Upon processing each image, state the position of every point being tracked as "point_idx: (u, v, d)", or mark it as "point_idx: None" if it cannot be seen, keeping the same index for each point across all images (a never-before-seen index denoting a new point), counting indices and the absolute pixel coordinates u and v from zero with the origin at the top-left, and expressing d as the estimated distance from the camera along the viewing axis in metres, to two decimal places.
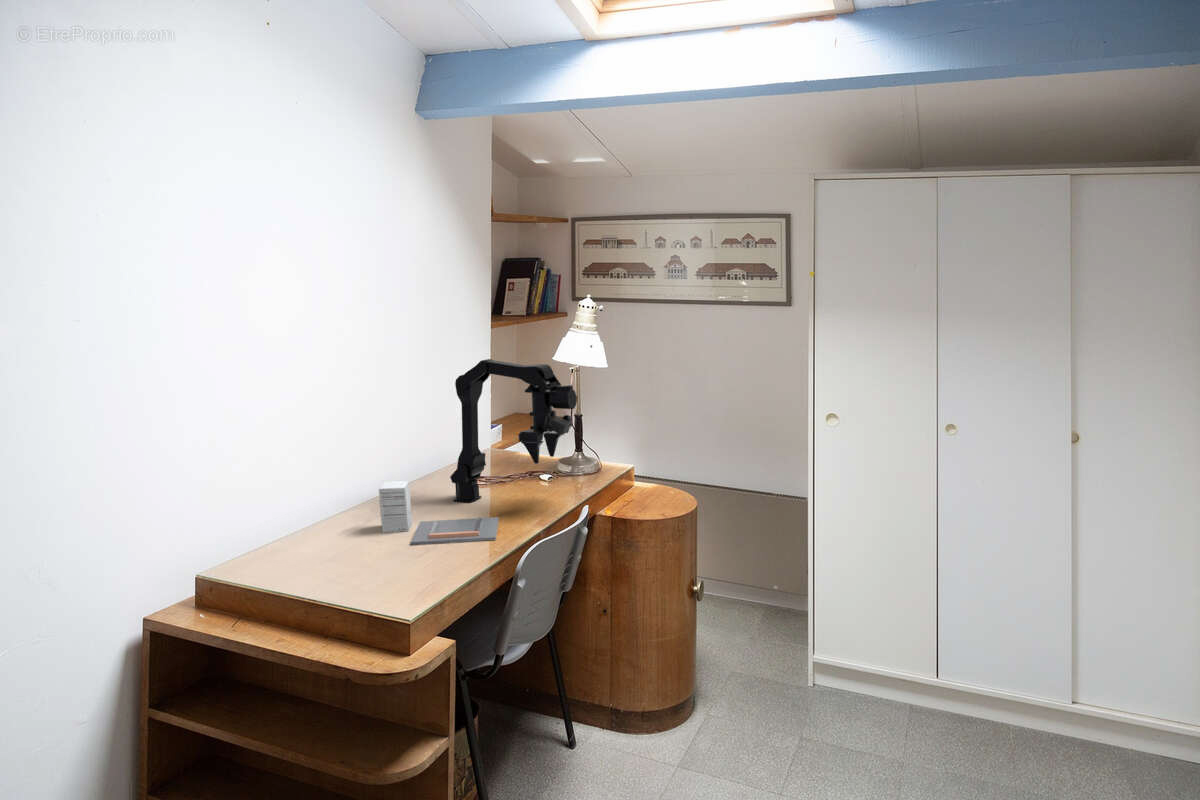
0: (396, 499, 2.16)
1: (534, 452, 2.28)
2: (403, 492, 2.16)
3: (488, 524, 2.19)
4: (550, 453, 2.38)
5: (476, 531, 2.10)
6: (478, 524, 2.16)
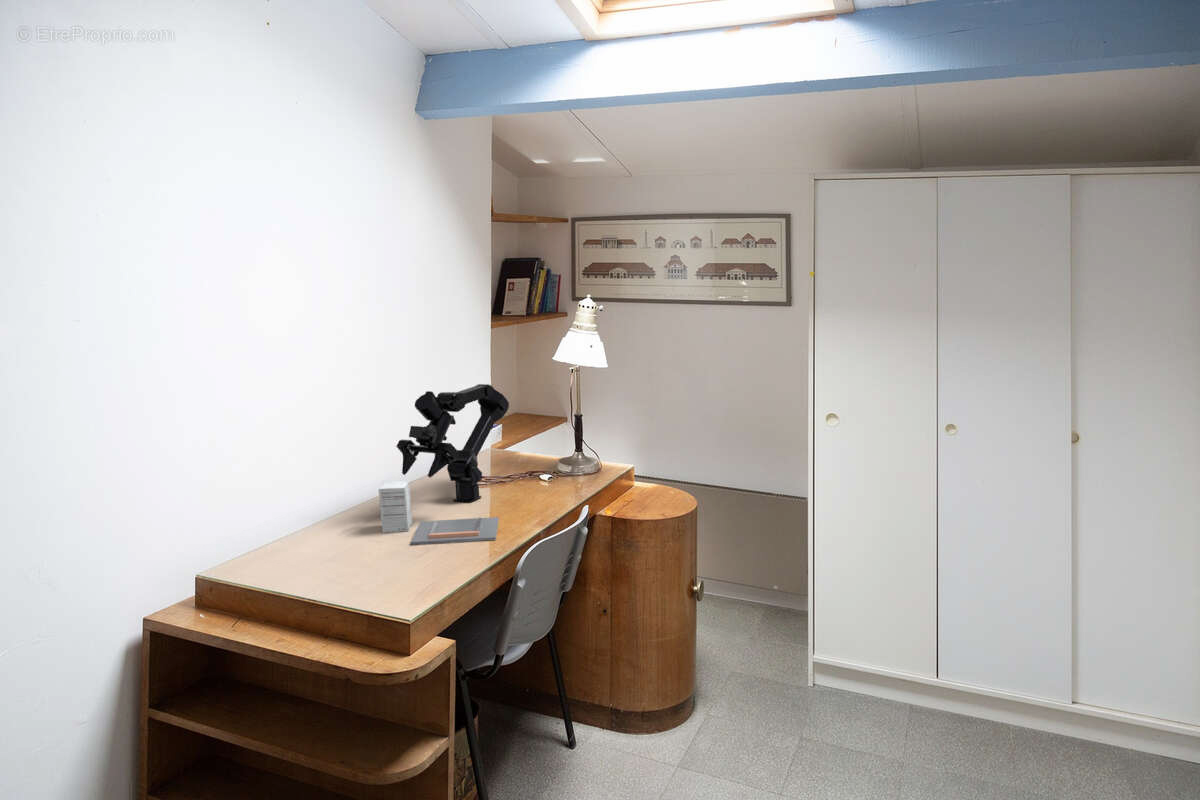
0: (396, 499, 2.16)
1: None
2: (403, 491, 2.16)
3: (488, 524, 2.19)
4: None
5: (476, 531, 2.10)
6: (478, 524, 2.16)
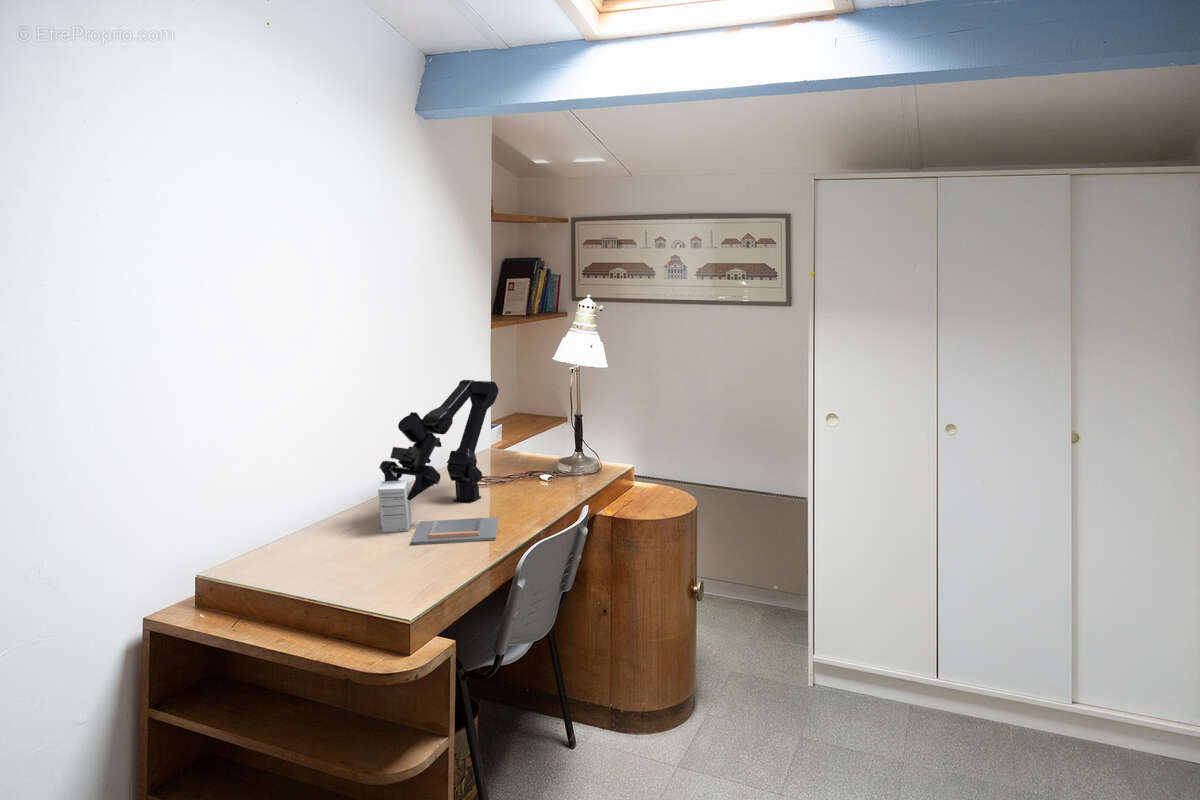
0: (395, 499, 2.16)
1: None
2: (403, 492, 2.16)
3: (488, 524, 2.19)
4: None
5: (476, 531, 2.10)
6: (478, 524, 2.16)
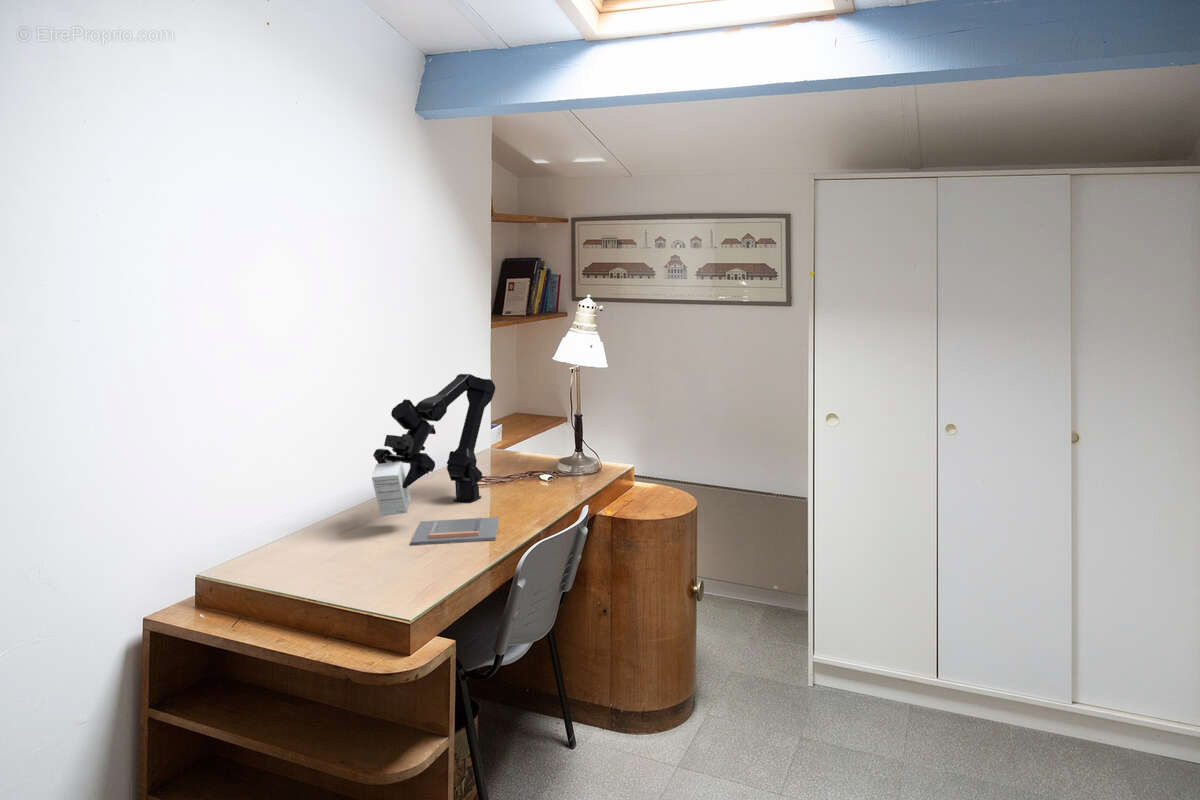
0: (390, 485, 2.14)
1: None
2: (397, 478, 2.13)
3: (488, 524, 2.19)
4: None
5: (476, 531, 2.10)
6: (478, 524, 2.16)
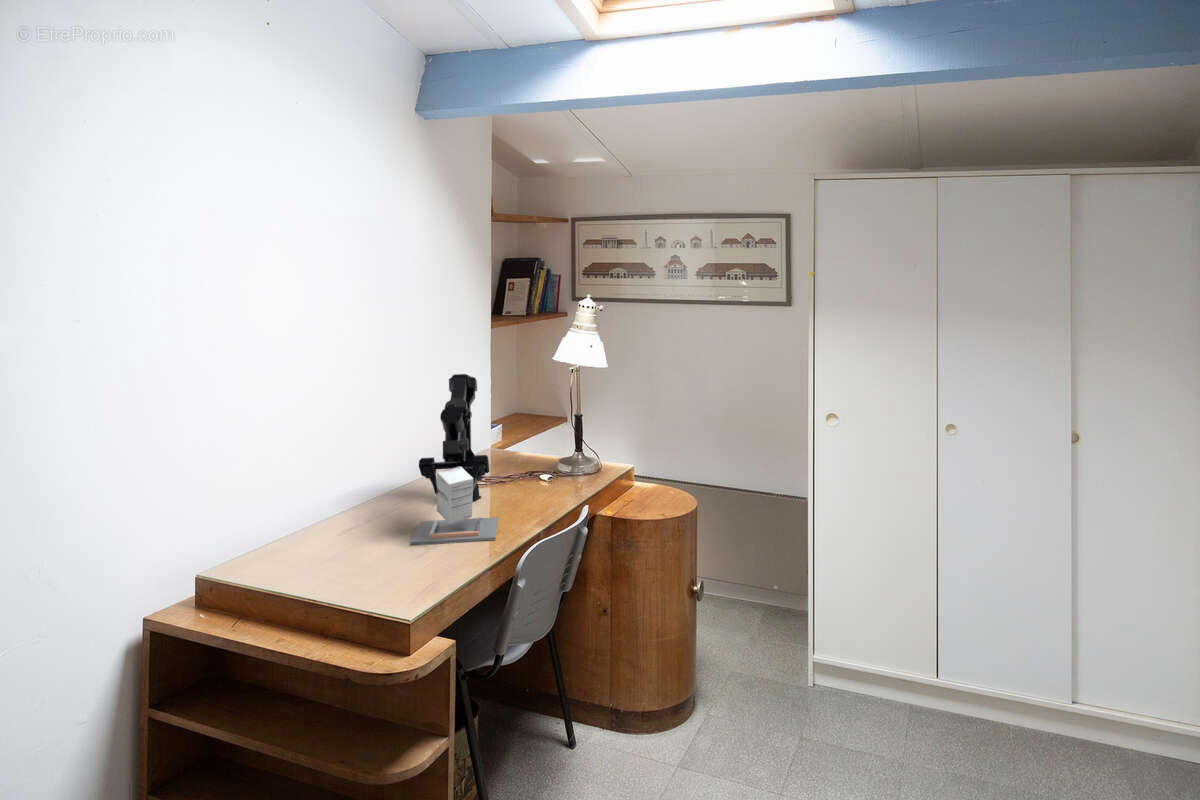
0: (464, 490, 2.10)
1: (432, 481, 2.15)
2: (472, 482, 2.11)
3: (488, 524, 2.19)
4: None
5: (476, 531, 2.10)
6: (478, 524, 2.16)
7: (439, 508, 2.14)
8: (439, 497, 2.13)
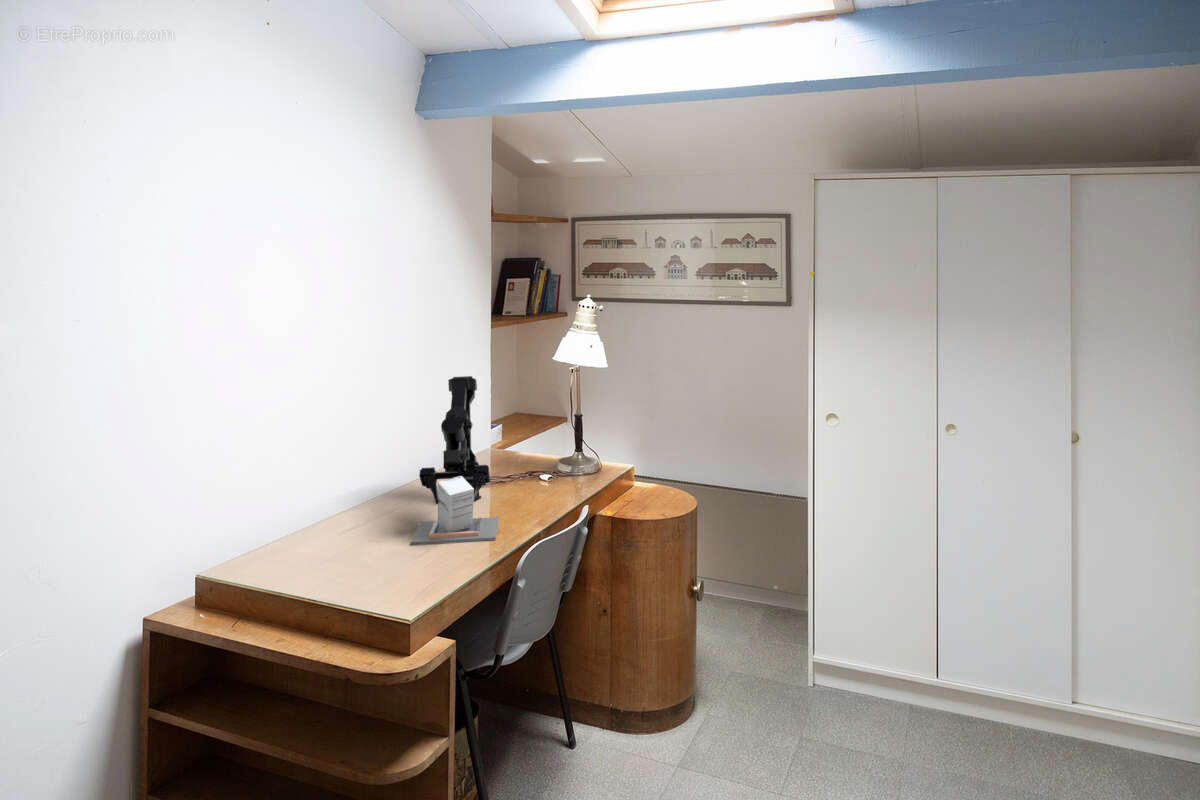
0: (465, 500, 2.10)
1: (432, 491, 2.15)
2: (472, 492, 2.10)
3: (488, 524, 2.19)
4: None
5: (476, 531, 2.10)
6: (478, 524, 2.16)
7: (440, 517, 2.15)
8: (439, 507, 2.13)
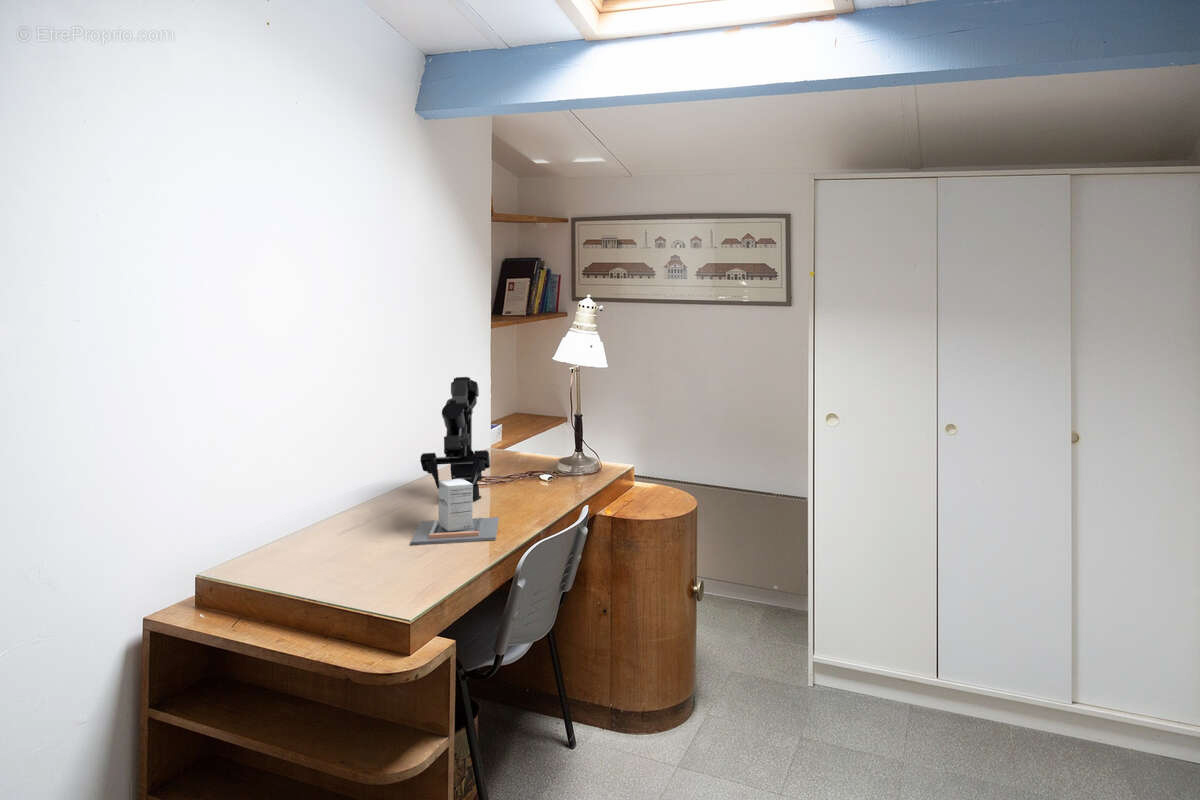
0: (464, 496, 2.13)
1: (433, 476, 2.18)
2: (471, 488, 2.14)
3: (488, 524, 2.19)
4: None
5: (476, 531, 2.10)
6: (478, 524, 2.16)
7: (440, 519, 2.16)
8: (440, 507, 2.16)
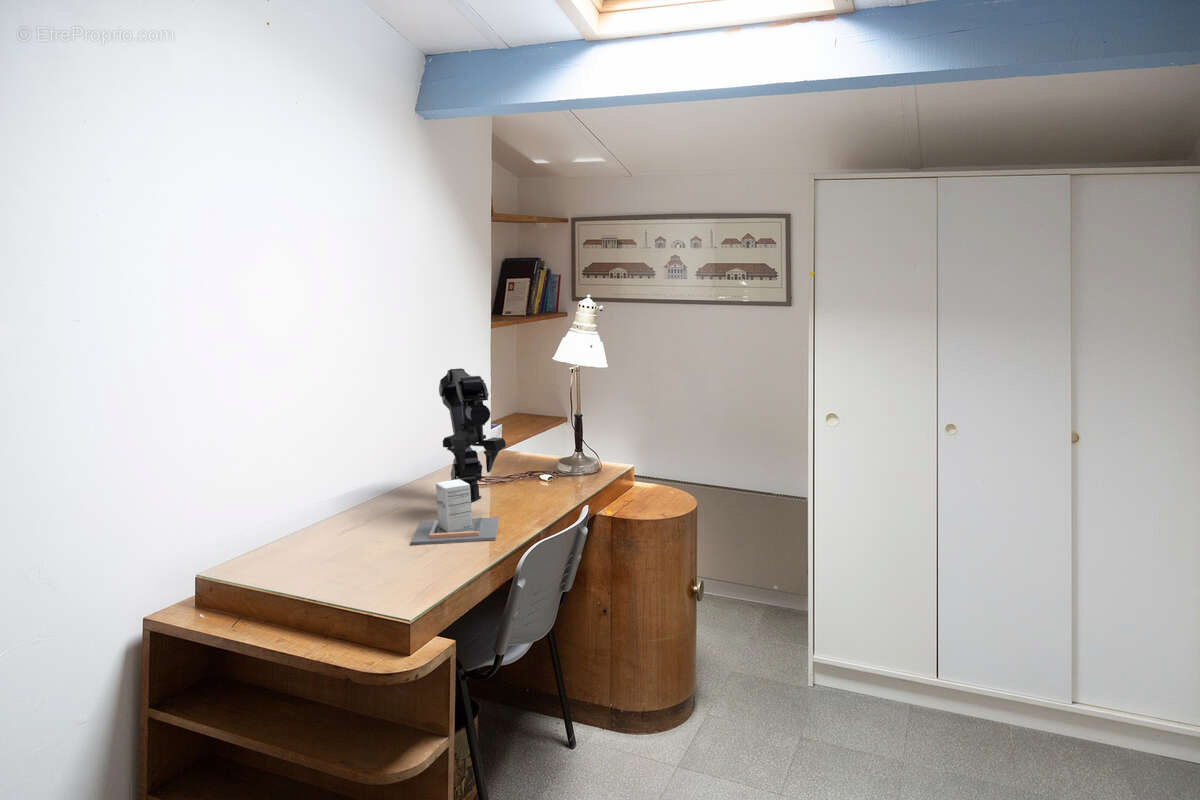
0: (461, 497, 2.13)
1: None
2: (468, 488, 2.14)
3: (488, 524, 2.19)
4: None
5: (476, 531, 2.10)
6: (478, 524, 2.16)
7: (440, 521, 2.16)
8: (439, 509, 2.16)
